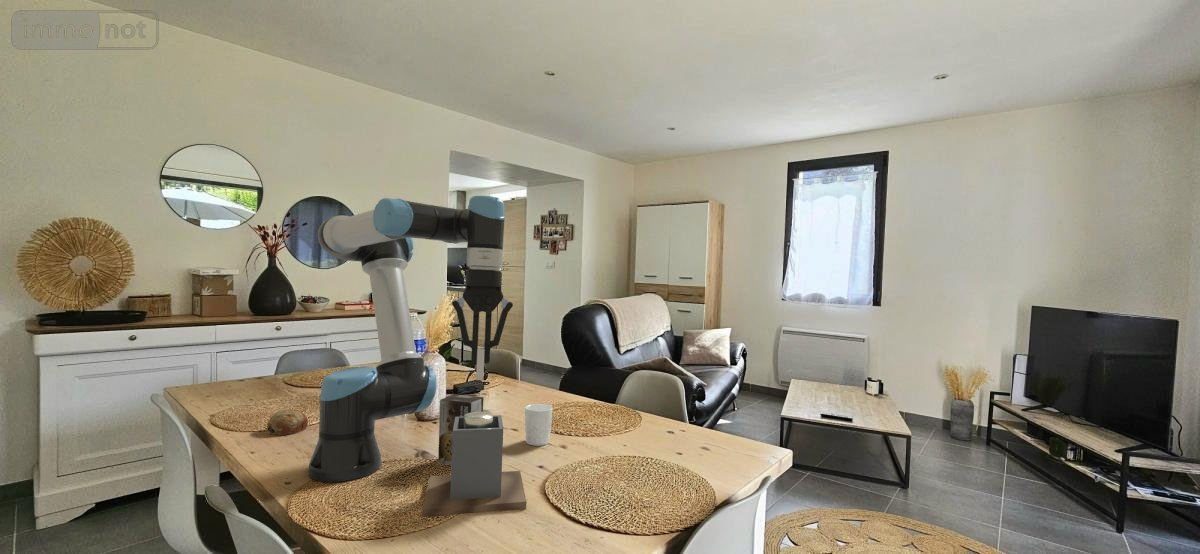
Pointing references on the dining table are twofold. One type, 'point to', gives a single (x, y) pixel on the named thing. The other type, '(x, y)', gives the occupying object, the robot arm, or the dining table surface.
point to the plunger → (478, 420)
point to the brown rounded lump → (287, 422)
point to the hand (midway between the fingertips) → (479, 378)
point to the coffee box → (448, 412)
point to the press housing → (476, 461)
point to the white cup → (538, 424)
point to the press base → (441, 505)
